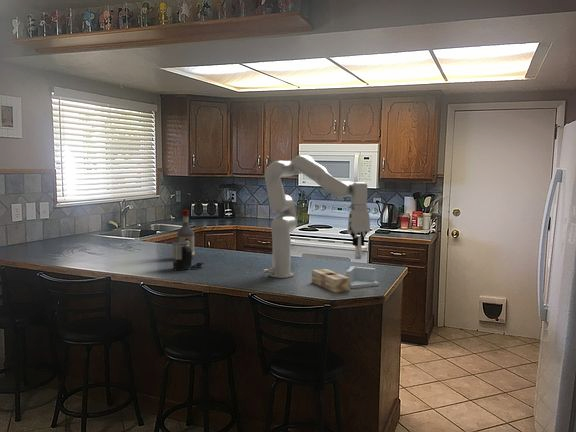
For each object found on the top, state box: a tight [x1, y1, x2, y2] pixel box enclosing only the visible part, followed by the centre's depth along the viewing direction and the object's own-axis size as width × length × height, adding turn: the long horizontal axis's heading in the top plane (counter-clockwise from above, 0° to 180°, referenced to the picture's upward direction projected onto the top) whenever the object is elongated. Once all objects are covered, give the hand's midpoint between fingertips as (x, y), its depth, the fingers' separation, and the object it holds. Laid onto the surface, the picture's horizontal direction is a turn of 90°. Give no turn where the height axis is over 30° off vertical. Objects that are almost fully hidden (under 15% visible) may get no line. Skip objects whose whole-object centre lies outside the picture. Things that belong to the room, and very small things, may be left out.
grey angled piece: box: [345, 265, 380, 289], centre depth 234 cm, size 17×13×8 cm
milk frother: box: [171, 241, 205, 271], centre depth 266 cm, size 14×16×15 cm
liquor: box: [177, 209, 195, 260], centre depth 293 cm, size 9×9×30 cm
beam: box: [311, 268, 351, 293], centre depth 229 cm, size 8×22×6 cm, turn 25°
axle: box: [354, 235, 363, 260], centre depth 233 cm, size 3×3×11 cm
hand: (358, 244), depth 233 cm, fingers closed on axle, 3 cm apart
